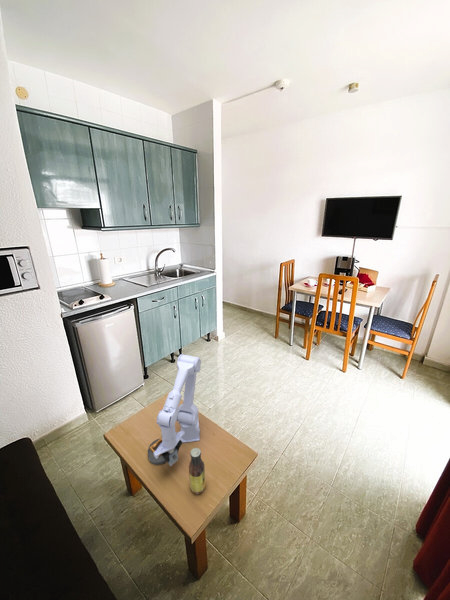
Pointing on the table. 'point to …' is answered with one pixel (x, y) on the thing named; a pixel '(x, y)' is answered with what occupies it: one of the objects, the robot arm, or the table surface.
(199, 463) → the sauce bottle
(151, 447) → the grey disc square socket
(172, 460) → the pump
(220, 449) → the table surface
